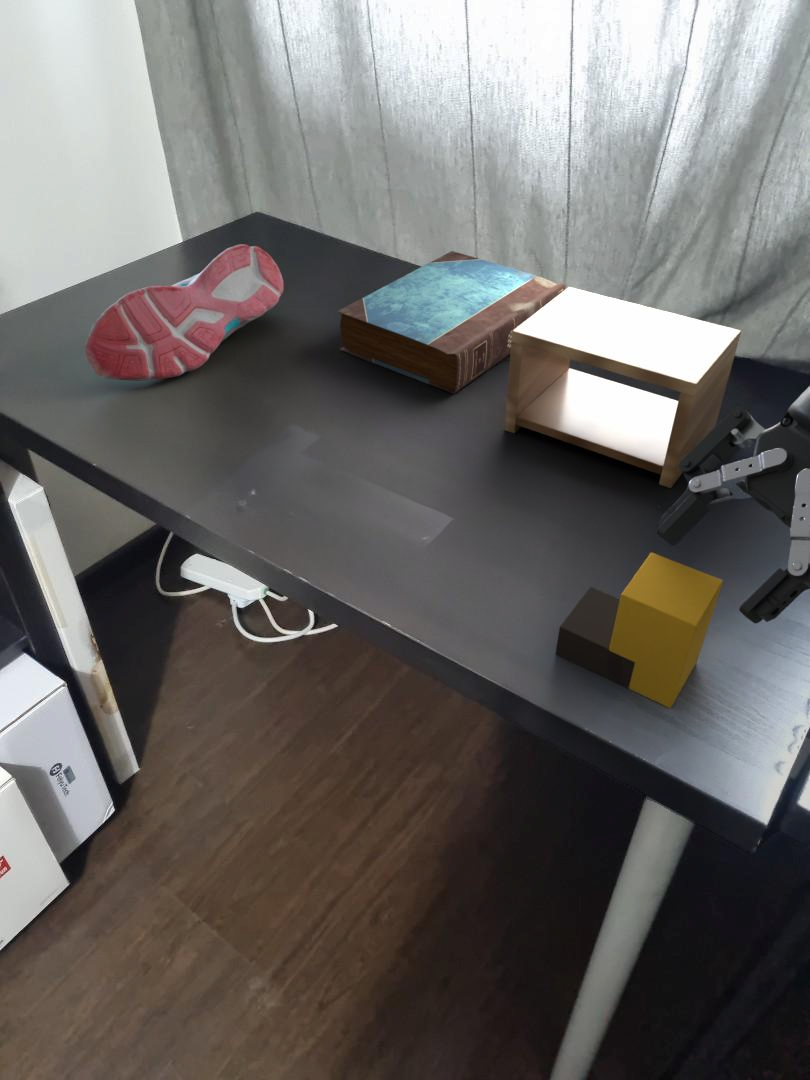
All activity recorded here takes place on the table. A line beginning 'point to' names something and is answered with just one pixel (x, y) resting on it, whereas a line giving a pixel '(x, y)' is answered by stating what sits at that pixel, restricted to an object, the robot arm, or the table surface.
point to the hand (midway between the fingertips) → (703, 576)
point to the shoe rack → (609, 407)
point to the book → (445, 319)
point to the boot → (644, 629)
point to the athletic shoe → (183, 317)
